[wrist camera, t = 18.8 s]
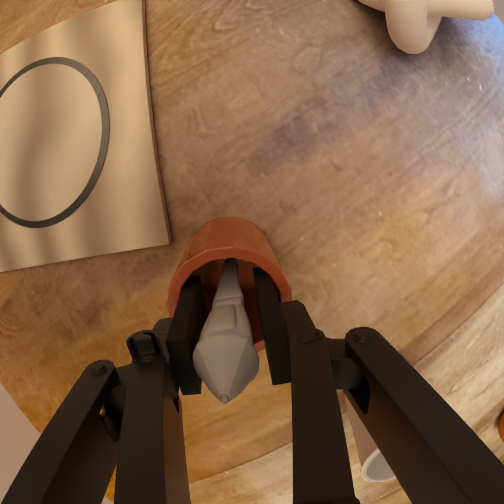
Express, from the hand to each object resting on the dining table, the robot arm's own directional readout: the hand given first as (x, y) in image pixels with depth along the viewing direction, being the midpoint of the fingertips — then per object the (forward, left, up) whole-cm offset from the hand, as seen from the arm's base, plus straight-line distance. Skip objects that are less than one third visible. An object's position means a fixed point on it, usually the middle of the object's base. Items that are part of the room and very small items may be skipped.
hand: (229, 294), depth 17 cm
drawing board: (-14, +12, -6) cm, 19 cm away
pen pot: (0, 0, -6) cm, 6 cm away
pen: (0, 0, -6) cm, 6 cm away
